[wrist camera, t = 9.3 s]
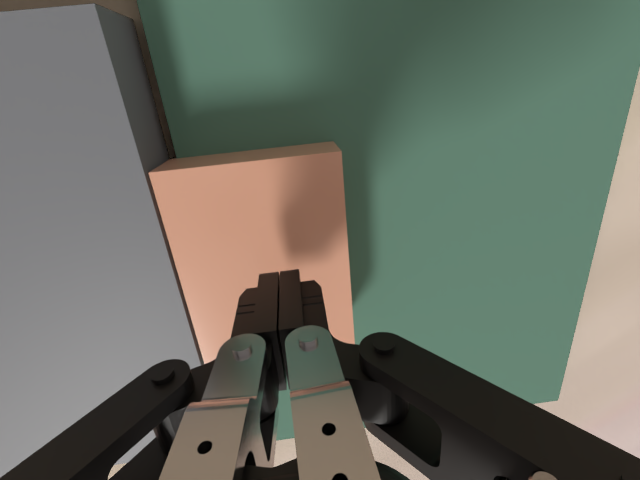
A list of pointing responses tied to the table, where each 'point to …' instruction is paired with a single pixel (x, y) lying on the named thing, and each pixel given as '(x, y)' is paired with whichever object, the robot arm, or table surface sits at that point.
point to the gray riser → (79, 225)
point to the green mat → (428, 151)
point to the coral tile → (255, 230)
